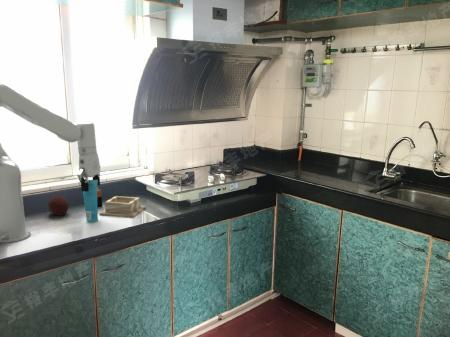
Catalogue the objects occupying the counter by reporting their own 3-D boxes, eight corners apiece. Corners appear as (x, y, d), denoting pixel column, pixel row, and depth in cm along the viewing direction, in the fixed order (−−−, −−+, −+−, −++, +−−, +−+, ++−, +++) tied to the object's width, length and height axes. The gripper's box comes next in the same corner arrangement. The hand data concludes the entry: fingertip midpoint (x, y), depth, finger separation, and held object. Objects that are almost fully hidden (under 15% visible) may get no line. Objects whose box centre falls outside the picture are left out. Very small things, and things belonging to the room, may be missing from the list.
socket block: (133, 217, 178) (132, 205, 177) (99, 215, 181) (98, 203, 180) (145, 208, 192) (145, 196, 191) (114, 206, 196) (113, 194, 194)
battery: (86, 208, 192) (84, 188, 190) (98, 205, 197) (97, 186, 195) (90, 210, 189) (88, 190, 187) (102, 207, 194) (101, 188, 192)
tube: (101, 218, 176) (98, 178, 172) (99, 222, 172) (96, 180, 168) (85, 219, 176) (81, 178, 172) (82, 223, 171) (78, 181, 167)
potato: (52, 219, 175) (51, 200, 173) (46, 213, 184) (44, 194, 182) (72, 215, 180) (70, 197, 178) (64, 209, 190) (63, 191, 188)
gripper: (84, 154, 158) (88, 194, 162) (105, 147, 175) (108, 183, 179) (68, 153, 160) (72, 193, 163) (90, 146, 176) (93, 182, 180)
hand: (91, 188), depth 171 cm, fingers open, 9 cm apart
